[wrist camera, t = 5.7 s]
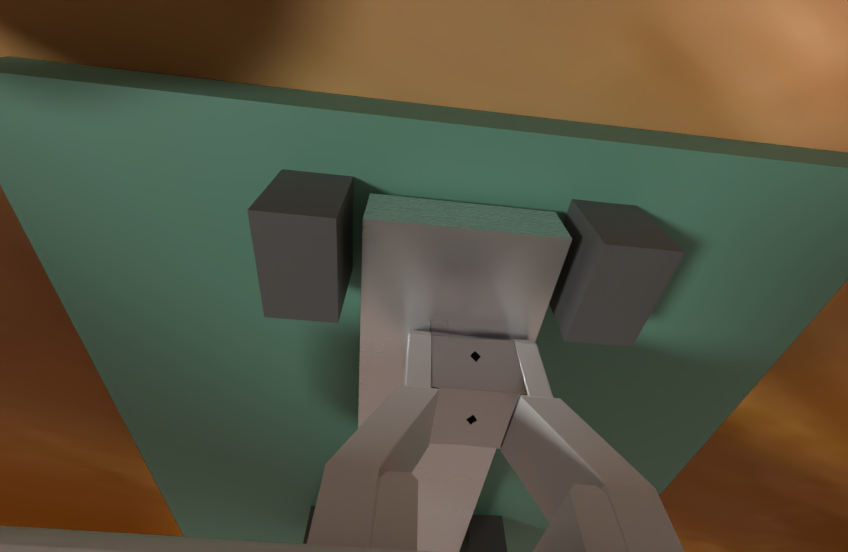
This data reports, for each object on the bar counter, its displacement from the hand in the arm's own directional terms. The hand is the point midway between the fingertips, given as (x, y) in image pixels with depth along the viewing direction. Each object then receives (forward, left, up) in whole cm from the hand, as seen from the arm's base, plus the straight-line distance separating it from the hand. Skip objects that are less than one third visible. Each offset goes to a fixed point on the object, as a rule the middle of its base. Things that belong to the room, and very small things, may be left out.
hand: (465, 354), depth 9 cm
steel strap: (-1, -5, -1) cm, 5 cm away
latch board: (-1, -5, -3) cm, 6 cm away
